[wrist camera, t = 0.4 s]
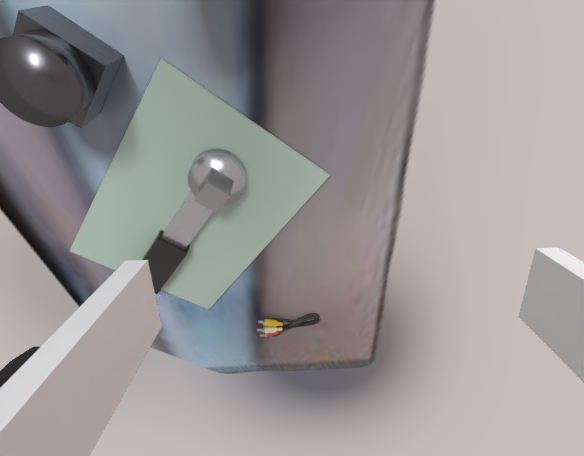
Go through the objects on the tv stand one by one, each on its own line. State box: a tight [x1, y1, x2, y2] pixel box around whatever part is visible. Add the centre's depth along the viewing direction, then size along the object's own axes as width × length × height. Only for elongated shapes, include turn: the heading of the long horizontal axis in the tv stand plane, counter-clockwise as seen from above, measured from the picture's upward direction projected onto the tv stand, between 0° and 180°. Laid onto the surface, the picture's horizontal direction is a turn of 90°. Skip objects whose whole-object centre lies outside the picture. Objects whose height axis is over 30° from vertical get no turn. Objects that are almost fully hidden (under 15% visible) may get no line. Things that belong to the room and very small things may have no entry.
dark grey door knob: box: [0, 6, 123, 128], centre depth 29 cm, size 6×6×7 cm
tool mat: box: [70, 58, 330, 310], centre depth 42 cm, size 28×20×1 cm
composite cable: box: [257, 313, 321, 337], centre depth 54 cm, size 10×5×2 cm, turn 91°
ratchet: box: [142, 149, 247, 294], centre depth 40 cm, size 23×6×5 cm, turn 143°
